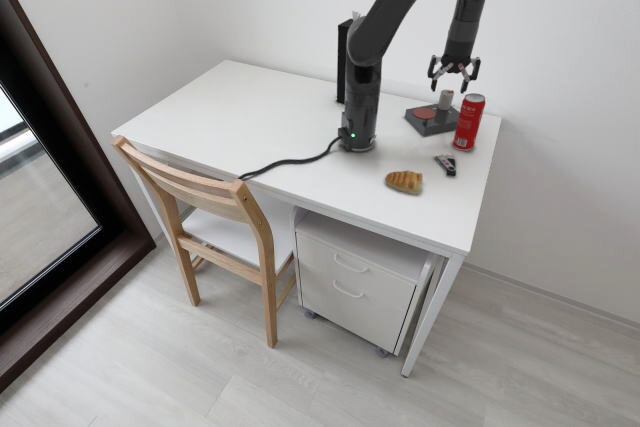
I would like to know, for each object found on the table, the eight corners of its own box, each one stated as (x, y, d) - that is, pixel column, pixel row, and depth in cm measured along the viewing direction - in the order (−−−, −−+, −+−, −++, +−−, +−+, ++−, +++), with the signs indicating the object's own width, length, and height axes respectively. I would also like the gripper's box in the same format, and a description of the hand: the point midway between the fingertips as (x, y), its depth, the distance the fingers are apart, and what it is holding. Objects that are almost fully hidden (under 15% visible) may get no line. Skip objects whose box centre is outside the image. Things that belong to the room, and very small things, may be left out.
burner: (419, 120, 104) (420, 120, 104) (409, 110, 108) (409, 109, 108) (439, 117, 105) (439, 116, 105) (428, 107, 110) (428, 106, 110)
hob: (423, 136, 103) (425, 127, 101) (402, 116, 112) (404, 107, 110) (468, 127, 106) (471, 118, 104) (445, 108, 115) (447, 99, 113)
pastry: (382, 190, 86) (384, 178, 83) (386, 174, 90) (388, 162, 88) (420, 196, 84) (423, 184, 81) (422, 180, 89) (425, 168, 86)
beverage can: (474, 152, 97) (492, 103, 86) (450, 150, 98) (465, 101, 87) (471, 141, 101) (488, 93, 90) (449, 139, 102) (463, 91, 91)
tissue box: (355, 107, 116) (361, 16, 96) (336, 102, 119) (337, 12, 99) (366, 98, 121) (373, 9, 101) (347, 93, 124) (350, 6, 104)
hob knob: (441, 111, 108) (445, 95, 104) (435, 105, 110) (438, 89, 106) (452, 109, 108) (457, 93, 105) (445, 103, 111) (449, 87, 107)
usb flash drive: (455, 176, 89) (456, 173, 88) (434, 174, 90) (435, 171, 89) (454, 157, 95) (455, 154, 94) (434, 155, 96) (435, 152, 95)
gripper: (436, 39, 93) (424, 95, 104) (491, 41, 91) (472, 98, 102) (434, 30, 98) (423, 85, 109) (486, 32, 96) (469, 87, 107)
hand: (447, 91), depth 106 cm, fingers open, 8 cm apart
